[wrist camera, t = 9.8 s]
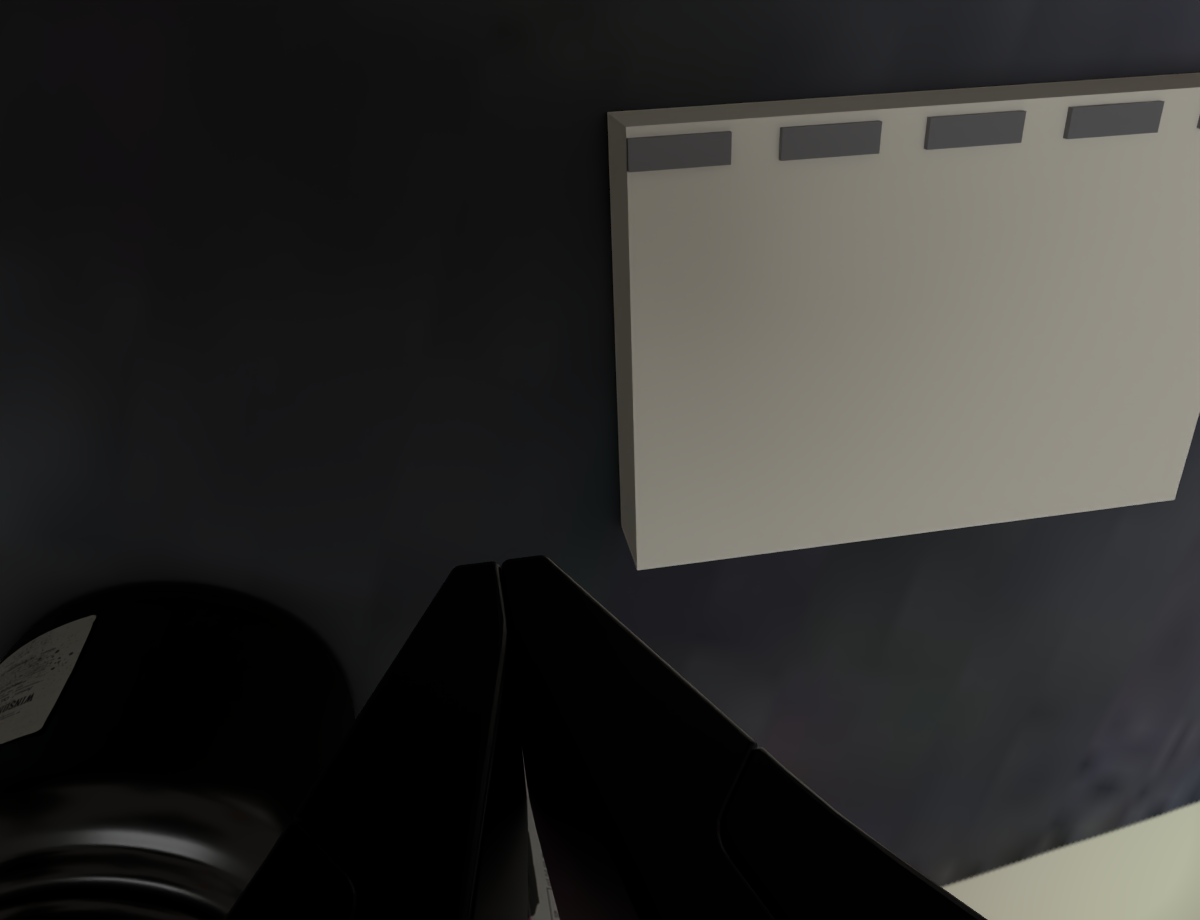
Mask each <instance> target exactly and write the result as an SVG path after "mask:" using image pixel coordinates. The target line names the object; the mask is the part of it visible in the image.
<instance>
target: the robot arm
mask: <svg viewBox="0 0 1200 920" xmlns="http://www.w3.org/2000/svg"><path fill="white" fill-rule="evenodd" d="M501 571H502V573H501ZM522 751H523V752H522ZM523 759H524V761H523ZM524 767H525V771H524ZM525 775H526V781H525ZM526 782H527V788H528V794H529V800H530V805H531V809H532V814H533V818H534V823H535V827H536V831H537V835H538V838H539V842H540V846H541V850H542V854H543V857H544V861H545V865H546V869H547V873H548V876H549V880H550V884H551V888H552V892H553V895H554V899H555V903H556V907H557V911H558V914H559V918H560V920H987V919H986V918H984V917H982V916H981V915H980V914H979V913H977V912H976V911H974V910H973V909H971V908H970V907H969V906H967V905H966V904H964V903H963V902H962V901H960V900H958V899H957V898H956V897H954V896H953V895H951V894H950V893H949V892H947V891H946V890H944V889H943V888H942V887H940V886H939V885H937V884H936V883H935V882H933V881H932V880H930V879H929V878H927V877H926V876H925V875H923V874H922V873H920V872H919V871H918V870H916V869H915V868H913V867H912V866H910V865H909V864H908V863H906V862H905V861H903V860H902V859H901V858H899V857H898V856H897V855H895V854H894V853H892V852H891V851H890V850H888V849H887V848H886V847H884V846H883V845H882V844H880V843H879V842H878V841H876V840H875V839H874V838H872V837H871V836H870V835H868V834H867V833H866V832H864V831H863V830H862V829H860V828H859V827H858V826H856V825H855V824H853V823H852V822H851V821H849V820H848V819H847V818H845V817H844V816H843V815H841V814H840V813H839V812H838V811H837V810H835V809H834V808H833V807H832V806H831V805H829V804H828V803H827V802H826V801H825V800H823V799H822V798H821V797H820V796H819V795H817V794H816V793H815V792H814V791H813V790H811V789H810V788H809V787H808V786H807V785H805V784H804V783H803V782H802V781H801V780H799V779H798V778H797V777H796V776H795V775H793V774H792V773H791V772H790V771H789V770H788V769H786V768H785V767H784V766H783V765H782V764H781V763H780V762H779V761H777V760H776V759H775V758H774V757H773V756H772V755H771V754H770V753H768V752H767V751H766V750H765V749H764V748H761V747H759V748H757V743H756V742H755V741H754V740H753V739H752V738H751V737H750V736H749V735H748V734H747V733H745V732H744V731H743V730H742V729H741V728H740V727H739V726H738V725H736V724H735V723H734V722H733V721H732V720H731V719H730V718H729V717H727V716H726V715H725V714H724V713H723V712H722V711H721V710H719V709H718V708H717V707H716V706H715V705H714V704H713V703H712V702H710V701H709V700H708V699H707V698H706V697H705V696H704V695H703V694H701V693H700V692H699V691H698V690H697V689H696V688H695V687H694V686H692V685H691V684H690V683H689V682H688V681H687V680H686V679H685V678H683V677H682V676H681V675H680V674H679V673H678V672H677V671H676V670H674V669H673V668H672V667H671V666H670V665H669V664H668V663H667V662H665V661H664V660H663V659H662V658H661V657H660V656H659V655H658V654H656V653H655V652H654V651H653V650H652V649H651V648H650V647H649V646H647V645H646V644H645V643H644V642H643V641H642V640H641V639H639V638H638V637H637V636H636V635H635V634H634V633H633V632H632V631H630V630H629V629H628V628H627V627H626V626H625V625H624V624H623V623H621V622H620V621H619V620H618V619H617V618H616V617H615V616H614V615H612V614H611V613H610V612H609V611H608V610H607V609H606V608H605V607H603V606H602V605H601V604H600V603H599V602H598V601H597V600H596V599H594V598H593V597H592V596H591V595H590V594H589V593H588V592H587V591H585V590H584V589H583V588H582V587H581V586H580V585H579V584H578V583H576V582H575V581H574V580H573V579H572V578H571V577H570V576H569V575H567V574H566V573H565V572H564V571H563V570H562V569H561V568H559V567H558V566H557V565H556V564H555V563H554V562H553V561H552V560H550V559H549V558H548V557H546V556H543V555H538V556H530V557H522V558H515V559H508V560H506V561H505V562H503V564H502V566H501V568H500V566H499V564H498V563H496V562H483V563H475V564H467V565H460V566H457V567H455V568H454V569H453V570H452V571H451V573H450V574H449V576H448V577H447V579H446V580H445V582H444V583H443V585H442V586H441V588H440V590H439V591H438V593H437V594H436V596H435V597H434V599H433V600H432V602H431V604H430V605H429V607H428V608H427V610H426V611H425V613H424V614H423V616H422V617H421V619H420V621H419V622H418V624H417V625H416V627H415V628H414V630H413V631H412V633H411V635H410V636H409V638H408V639H407V641H406V642H405V644H404V645H403V647H402V649H401V650H400V652H399V653H398V655H397V656H396V658H395V659H394V661H393V662H392V664H391V666H390V667H389V669H388V670H387V672H386V673H385V675H384V676H383V678H382V680H381V681H380V683H379V684H378V686H377V687H376V689H375V690H374V692H373V693H372V695H371V697H370V698H369V700H368V701H367V703H366V704H365V706H364V707H363V709H362V711H361V712H360V714H359V715H358V717H357V718H356V720H355V721H354V723H353V724H352V726H351V728H350V729H349V731H348V732H347V734H346V735H345V737H344V738H343V740H342V742H341V743H340V745H339V746H338V748H337V749H336V751H335V752H334V754H333V756H332V757H331V759H330V760H329V762H328V763H327V765H326V766H325V768H324V769H323V771H322V773H321V774H320V776H319V777H318V779H317V780H316V782H315V783H314V785H313V787H312V788H311V790H310V791H309V793H308V794H307V796H306V797H305V799H304V800H303V802H302V804H301V805H300V807H299V808H298V810H297V811H296V813H295V814H294V821H292V822H290V823H288V824H287V826H286V827H285V829H284V830H283V832H282V834H281V835H280V837H279V838H278V840H277V841H276V843H275V845H274V846H273V848H272V849H271V851H270V852H269V854H268V855H267V857H266V859H265V860H264V862H263V863H262V864H261V866H260V867H259V869H258V870H257V872H256V873H255V875H254V876H253V877H252V879H251V880H250V882H249V883H248V885H247V886H246V888H245V889H244V891H243V892H242V893H241V895H240V896H239V898H238V899H237V901H236V902H235V904H234V905H233V907H232V908H231V909H230V911H229V912H228V914H227V915H226V917H225V918H224V919H223V920H527V911H528V804H527V792H526Z"/></svg>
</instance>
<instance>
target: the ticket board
mask: <svg viewBox="0 0 1200 920" xmlns="http://www.w3.org/2000/svg"><path fill="white" fill-rule="evenodd" d="M607 119H608V149H609V178H610V208H611V237H612V267H613V296H614V326H615V355H616V385H617V414H618V444H619V473H620V503H621V527H622V530H623V532H624V535H625V538H626V541H627V544H628V546H629V549H630V552H631V555H632V557H633V560H634V563H635V566H636V568H637V570H644V569H652V568H659V567H667V566H674V565H682V564H690V563H697V562H705V561H712V560H720V559H728V558H735V557H743V556H750V555H758V554H766V553H773V552H781V551H788V550H796V549H804V548H811V547H819V546H827V545H834V544H842V543H849V542H857V541H865V540H872V539H880V538H887V537H895V536H903V535H910V534H918V533H925V532H933V531H941V530H948V529H956V528H963V527H971V526H979V525H986V524H994V523H1001V522H1009V521H1017V520H1024V519H1032V518H1039V517H1047V516H1055V515H1062V514H1070V513H1077V512H1085V511H1093V510H1100V509H1108V508H1115V507H1123V506H1131V505H1138V504H1146V503H1153V502H1161V501H1169V500H1175V496H1176V493H1177V489H1178V486H1179V482H1180V479H1181V475H1182V472H1183V468H1184V465H1185V461H1186V458H1187V454H1188V451H1189V447H1190V444H1191V440H1192V437H1193V433H1194V430H1195V426H1196V423H1197V419H1198V416H1199V412H1200V72H1199V73H1184V74H1169V75H1154V76H1139V77H1124V78H1109V79H1094V80H1079V81H1064V82H1049V83H1034V84H1019V85H1004V86H989V87H974V88H959V89H944V90H929V91H914V92H900V93H885V94H870V95H855V96H840V97H825V98H810V99H795V100H780V101H765V102H750V103H735V104H720V105H705V106H690V107H675V108H660V109H645V110H630V111H615V112H607Z"/></svg>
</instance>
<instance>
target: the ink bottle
mask: <svg viewBox="0 0 1200 920" xmlns="http://www.w3.org/2000/svg"><path fill="white" fill-rule="evenodd" d="M354 721H355V720H354V712H353V707H352V703H351V699H350V696H349V693H348V690H347V687H346V685H345V683H344V680H343V678H342V676H341V674H340V673H339V671H338V669H337V667H336V666H335V664H334V663H333V661H332V660H331V659H330V657H329V656H328V655H327V654H326V652H325V651H324V650H323V649H322V648H321V647H320V646H319V645H318V644H317V643H316V642H315V641H314V640H313V639H312V638H310V637H309V636H308V635H307V634H305V633H304V632H303V631H301V630H300V629H298V628H297V627H295V626H294V625H292V624H291V623H289V622H287V621H285V620H284V619H282V618H280V617H278V616H276V615H274V614H271V613H269V612H267V611H264V610H262V609H259V608H257V607H254V606H251V605H248V604H245V603H241V602H238V601H234V600H230V599H226V598H222V597H217V596H211V595H206V594H198V593H190V592H177V591H147V592H134V593H125V594H118V595H113V596H107V597H103V598H98V599H95V600H91V601H87V602H84V603H81V604H78V605H76V606H73V607H70V608H68V609H66V610H63V611H61V612H59V613H57V614H55V615H53V616H52V617H50V618H48V619H46V620H45V621H43V622H42V623H40V624H39V625H37V626H36V627H34V628H33V629H32V630H31V631H29V632H28V633H27V634H26V635H25V636H24V637H22V638H21V639H20V640H19V641H18V642H17V643H16V644H15V645H14V646H13V648H12V649H11V650H10V651H9V652H8V653H7V655H6V656H5V657H4V659H3V660H2V661H1V663H0V920H223V919H224V918H225V917H226V915H227V914H228V912H229V911H230V909H231V908H232V907H233V905H234V904H235V902H236V901H237V899H238V898H239V896H240V895H241V893H242V892H243V891H244V889H245V888H246V886H247V885H248V883H249V882H250V880H251V879H252V877H253V876H254V875H255V873H256V872H257V870H258V869H259V867H260V866H261V864H262V863H263V862H264V860H265V859H266V857H267V855H268V854H269V852H270V851H271V849H272V848H273V846H274V845H275V843H276V841H277V840H278V838H279V837H280V835H281V834H282V832H283V830H284V829H285V827H286V826H287V824H288V823H290V822H292V821H294V814H295V813H296V811H297V810H298V808H299V807H300V805H301V804H302V802H303V800H304V799H305V797H306V796H307V794H308V793H309V791H310V790H311V788H312V787H313V785H314V783H315V782H316V780H317V779H318V777H319V776H320V774H321V773H322V771H323V769H324V768H325V766H326V765H327V763H328V762H329V760H330V759H331V757H332V756H333V754H334V752H335V751H336V749H337V748H338V746H339V745H340V743H341V742H342V740H343V738H344V737H345V735H346V734H347V732H348V731H349V729H350V728H351V726H352V724H353V723H354Z"/></svg>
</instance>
